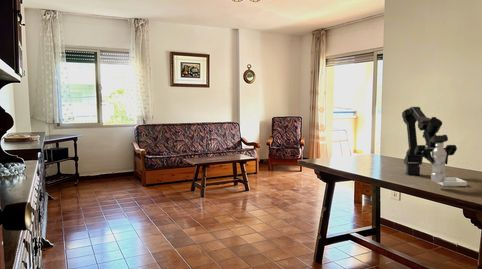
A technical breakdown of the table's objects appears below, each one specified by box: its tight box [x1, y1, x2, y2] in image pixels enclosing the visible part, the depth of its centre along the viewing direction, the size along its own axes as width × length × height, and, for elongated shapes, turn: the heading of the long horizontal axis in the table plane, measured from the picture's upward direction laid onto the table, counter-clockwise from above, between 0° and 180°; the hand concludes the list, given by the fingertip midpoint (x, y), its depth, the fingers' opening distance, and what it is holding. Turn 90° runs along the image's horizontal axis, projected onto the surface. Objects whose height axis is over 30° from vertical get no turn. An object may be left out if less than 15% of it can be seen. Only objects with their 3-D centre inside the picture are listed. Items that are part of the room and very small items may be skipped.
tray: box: [434, 176, 468, 188], centre depth 183 cm, size 12×11×2 cm
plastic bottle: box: [430, 142, 447, 183], centre depth 173 cm, size 6×7×20 cm
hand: (440, 163), depth 172 cm, fingers closed on plastic bottle, 6 cm apart
